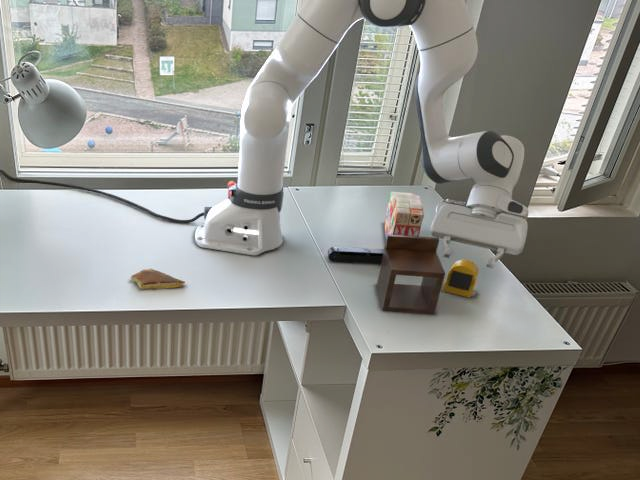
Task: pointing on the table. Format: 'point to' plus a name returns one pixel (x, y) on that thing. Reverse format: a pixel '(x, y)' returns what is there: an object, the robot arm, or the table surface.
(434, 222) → the robot arm
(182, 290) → the table surface
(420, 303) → the shelf
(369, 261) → the tablet stand
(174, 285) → the shard
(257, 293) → the table surface
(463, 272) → the tape measure
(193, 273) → the table surface
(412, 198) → the stack of blocks
